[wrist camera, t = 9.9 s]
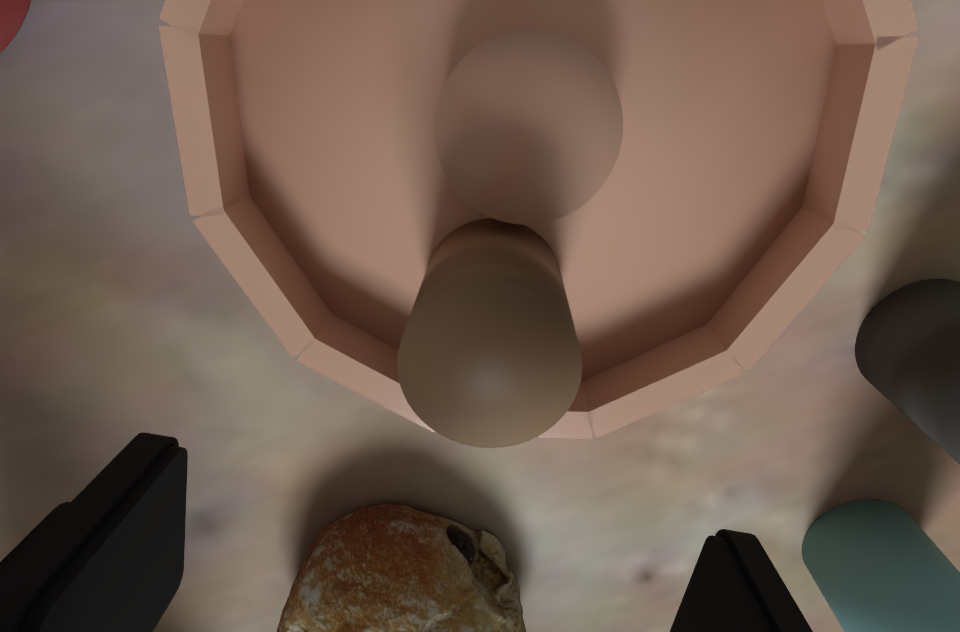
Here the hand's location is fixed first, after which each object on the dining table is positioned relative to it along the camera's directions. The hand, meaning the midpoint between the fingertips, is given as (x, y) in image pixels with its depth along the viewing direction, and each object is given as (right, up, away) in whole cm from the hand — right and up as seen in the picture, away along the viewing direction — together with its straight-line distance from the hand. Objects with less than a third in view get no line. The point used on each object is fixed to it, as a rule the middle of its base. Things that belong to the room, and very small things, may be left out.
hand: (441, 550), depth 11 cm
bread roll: (-3, -8, +16) cm, 18 cm away
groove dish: (+2, +10, +8) cm, 13 cm away
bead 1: (+1, +5, +9) cm, 11 cm away
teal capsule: (+16, -5, +14) cm, 22 cm away
